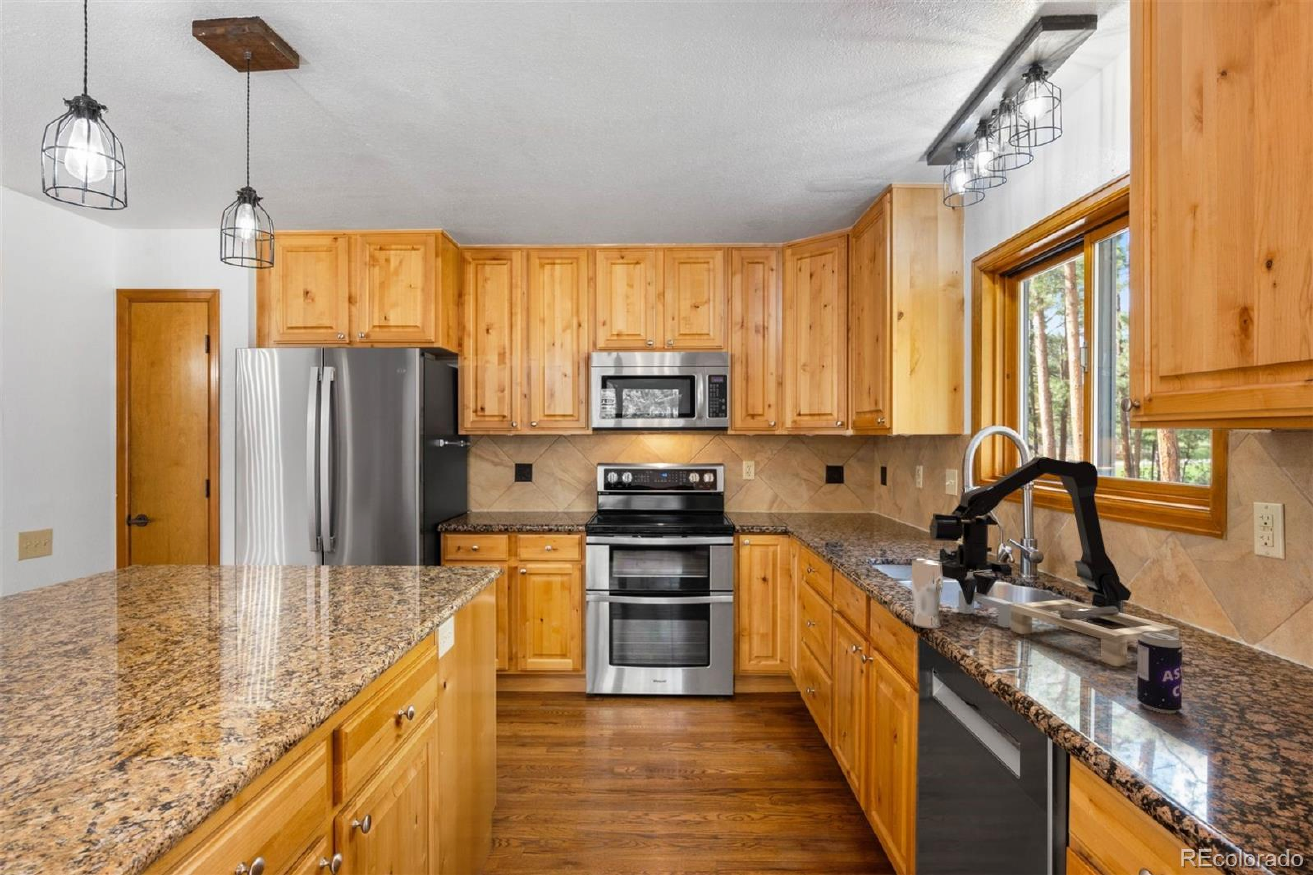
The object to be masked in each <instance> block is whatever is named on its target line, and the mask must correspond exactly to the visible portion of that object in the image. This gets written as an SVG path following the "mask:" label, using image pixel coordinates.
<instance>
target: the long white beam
mask: <svg viewBox="0 0 1313 875" xmlns="http://www.w3.org/2000/svg"><path fill="white" fill-rule="evenodd" d="M975 602H976V603H977V602H979V603H982V604H983V605H986V606H989V607H993V608H996V609H997V626H999V627H1002V628H1011V604H1016V603H1015V602H1012V601H1007V600H1005V599H1001V598H998V597H996V596H995V597H994V596H991V595H989V594H987V595H985V594H981V593H978V592H976V591H975V592H974V597H973V601H972V604H971V605H968V604H967V603H966V600H965V597H964V595H963V592H962V589H959V590H958V607H957V608H958V609H957V610H958V613H959V614H960V613H961V614H963V615H966V614H967V615H968V614H975ZM982 604H981V605H982Z"/></svg>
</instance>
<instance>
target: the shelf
mask: <svg viewBox="0 0 1313 875" xmlns="http://www.w3.org/2000/svg"><path fill="white" fill-rule="evenodd" d="M1088 608H1098V607H1096V606H1092V604H1088V603H1084V602H1081V601H1076V600H1073V599H1070V598H1067V599H1054V600H1043V601H1035V602H1034V601H1033V602H1021V603H1015V604H1011V627H1010V631H1011V632H1014V633H1016V634H1021V635H1026V634H1033V618H1034V619H1036V620H1039V621H1043V622H1046V623H1049V624H1051V625H1052V624H1053V625H1056V626H1058V627H1062V628H1066V629H1069V630H1072V631H1075V632H1078V633H1081V634H1085V635H1088V636H1092V637H1095V638H1098V639H1100V662H1102V663H1105V664H1108V665H1112V666H1114V667H1120V666H1127V665H1128V642H1129V643H1130V642H1131V643H1132V642H1136V641H1137V642H1138V639H1139V637H1140V636H1141V632H1142V631H1156V632H1163V633H1167V634H1171V635H1174V636H1177V637H1178V638H1179V637H1180V634H1179V633H1180V627H1176V626H1172V625H1169V624H1165V623H1161V622H1157V621H1153V620H1150V619H1145V618H1142V617H1138V616H1135V615H1131V614H1127V613H1124V612H1123V613H1118V614H1113V615H1112V616H1105V617H1099V618H1103V619H1107V620H1110V621H1114V622H1117V623H1121V624H1120V625H1125V626H1129V627H1126V628H1125V627H1124V628H1117V629H1115V628H1114V629H1110V628H1107V627H1103V626H1100V625H1096V624H1093V623H1089V622H1085V621H1084V620H1081V619H1077V620H1076V619H1066V618H1062V617H1060V613H1061V612H1062V611H1068V610H1078V609H1088ZM1055 612H1058V613H1055ZM1179 639H1180V638H1179Z"/></svg>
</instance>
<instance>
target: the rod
mask: <svg viewBox="0 0 1313 875" xmlns="http://www.w3.org/2000/svg"><path fill="white" fill-rule="evenodd" d="M1118 613H1119V610H1118V608H1117V607H1115V606H1108V607H1098V608H1088V609H1078V610H1068V611H1062V612H1061V613H1060V617H1062V618H1066V619H1076V620H1077V619H1080V620H1085V619H1087V618H1095V617H1105V616H1112V615H1113V614H1118Z"/></svg>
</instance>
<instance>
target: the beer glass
mask: <svg viewBox="0 0 1313 875" xmlns="http://www.w3.org/2000/svg"><path fill="white" fill-rule="evenodd" d="M911 561H912V562H911V563H912V564H911V576H910V578H911V579H910V580H911V581H910V582H911V585H910V586H911V593H912V598H913V604H914V613H913V618H912V624H913V625H914V626H915V627H918V628H924V629H939V628H941V620H940V614H939V612H940V611H939V610H940V604H941V599H942V594H943V588H944V576H943V567H942V564H943V562H942V561H941V560H940V561H939V560H937V559H936V560H935V559H929V558H928V559H927V558H916V559H912V560H911Z"/></svg>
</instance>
